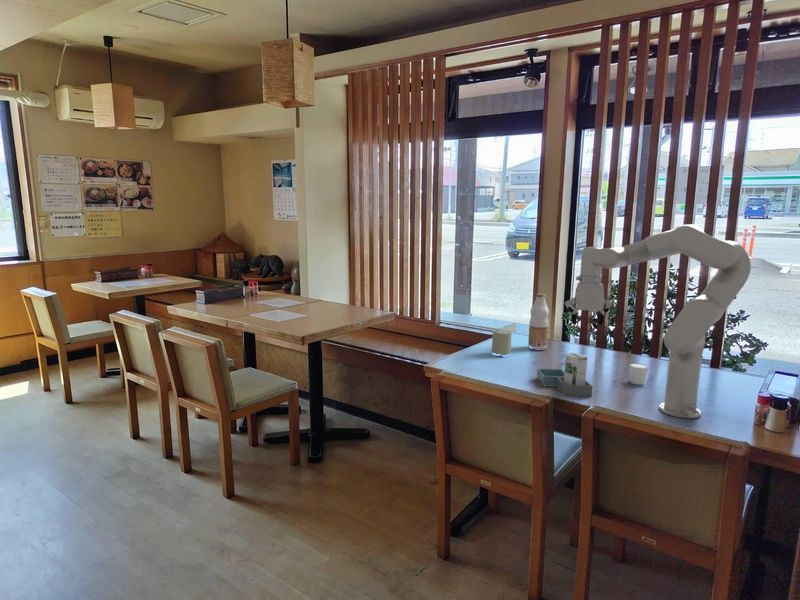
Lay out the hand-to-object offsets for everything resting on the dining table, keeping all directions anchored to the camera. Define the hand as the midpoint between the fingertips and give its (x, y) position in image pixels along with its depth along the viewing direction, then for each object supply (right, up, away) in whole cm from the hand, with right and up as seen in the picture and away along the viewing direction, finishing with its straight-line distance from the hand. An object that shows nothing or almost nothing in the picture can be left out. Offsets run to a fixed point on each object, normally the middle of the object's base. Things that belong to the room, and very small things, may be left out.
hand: (586, 324), depth 193 cm
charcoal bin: (-5, -26, 0) cm, 26 cm away
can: (-22, -17, +51) cm, 59 cm away
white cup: (+25, -24, +12) cm, 37 cm away
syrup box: (-5, -26, 0) cm, 26 cm away
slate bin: (-10, -24, +11) cm, 28 cm away
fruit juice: (-1, -16, +64) cm, 66 cm away
